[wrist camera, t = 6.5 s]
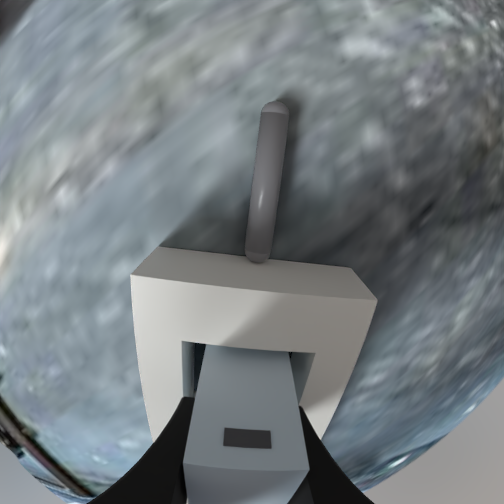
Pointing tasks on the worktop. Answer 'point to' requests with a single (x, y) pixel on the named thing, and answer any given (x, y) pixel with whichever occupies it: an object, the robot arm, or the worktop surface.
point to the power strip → (249, 304)
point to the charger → (244, 430)
